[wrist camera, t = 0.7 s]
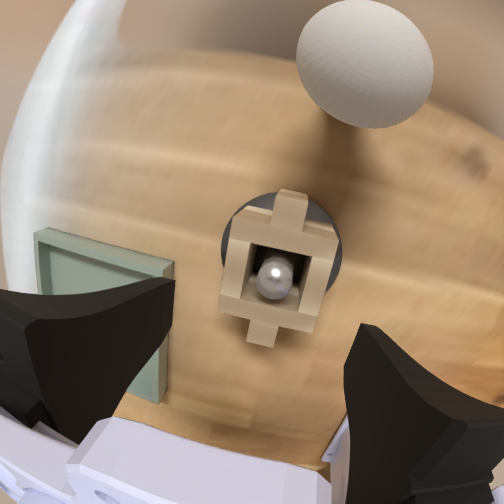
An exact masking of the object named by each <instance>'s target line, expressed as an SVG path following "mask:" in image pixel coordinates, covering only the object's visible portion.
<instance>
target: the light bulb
mask: <svg viewBox="0 0 504 504" xmlns="http://www.w3.org/2000/svg"><path fill="white" fill-rule="evenodd" d="M296 59H297V68H298V72H299V76H300V79H301V81H302V83H303V86H304V88H305V89H306V91H307V92H308V94H309V96H310V97H311V98H312V99H313V100H314V102H315V103H316V104H317V105H318V106H319V107H320V108H321V109H323V110H324V111H325V112H326V113H328V114H329V115H331V116H332V117H334V118H336V119H338V120H340V121H342V122H344V123H346V124H349V125H352V126H356V127H361V128H374V129H376V128H385V127H389V126H393V125H397V124H399V123H401V122H403V121H405V120H407V119H408V118H410V117H411V116H412V115H414V114H415V113H416V112H417V111H418V110H419V109H420V108H421V107H422V105H423V104H424V102H425V101H426V99H427V98H428V95H429V93H430V90H431V87H432V82H433V76H434V72H433V71H434V67H433V60H432V55H431V52H430V50H429V47H428V44H427V42H426V41H425V38H424V37H423V35H422V34H421V33H420V31H419V30H418V29H417V27H416V26H415V25H414V24H413V23H412V22H411V21H410V20H409V19H408V18H407V17H405V16H404V15H402V14H401V13H400V12H398V11H397V10H395V9H393V8H391V7H389V6H387V5H384V4H381V3H378V2H374V1H369V0H346V1H341V2H337V3H335V4H332V5H329V6H328V7H325V8H324V9H322V10H320V11H319V12H318V13H317V14H315V15H314V16H313V17H312V18H311V19H310V21H309V22H308V23H307V24H306V26H305V27H304V29H303V31H302V33H301V35H300V38H299V41H298V45H297V54H296Z"/></svg>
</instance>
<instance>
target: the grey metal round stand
mask: <svg viewBox="0 0 504 504" xmlns="http://www.w3.org/2000/svg"><path fill="white" fill-rule="evenodd" d="M277 193H278V192H274V193H268V194H264V195H261V196H259V197H256V198H254V199H252V200H250V201H249V202H247V203H246V204H244V205H243V206H242V207H241V208H239V210H238V211H237V212H236V213H235V214H234V215H233V216H235V215H236V214H237V213H239V212H240V211H241V210H243V209H244V208H245V207H246V206H253V207H258V208H263V209H268V210H272V211H273V208H274V203H275V198H276V195H277ZM233 216H232V218H233ZM232 218H231V219H230V221H229V222H228V224H227V226H226V228H225V231H224V234H223V238H222V244H221V257H222V262H223V266H224V267H225V260H226V254H227V248H228V242H229V236H230V230H231V224H232ZM305 218H309V219H313V220H318V221H322V222H326V223H330V224H332V226H333V228H334V231H335V233H336V235H337V237H338V239H339V243H338V246H337V250H336V254H335V258H334V261H333V265H332V269H331V272H330V276H329V279H328V283H327V286H326V290H325V292H326V291H327V290H328V289H329V288H330V287H331V285H332V284H333V282H334V281H335V279H336V277H337V275H338V272H339V270H340V266H341V261H342V243H341V239H340V235H339V232H338V230H337V228H336V226H335V224H334V222H333V220H332V219H331V217H330V216H329V215H328V213H327V212H326V211H325V210H324V209H323V208H322V207H320V206H319V205H318V204H317V203H315V202H314V201H312V200H310V199H308V207H307V211H306V216H305ZM305 258H306V255H303V254H299V253H294V252H290V251H285V250H281V249H277V248H272V247H268V246H263V245H259V244H258V247H257V252H256V257H255V262H254V267H253V272H257V273H258V275H257V278H256V286H257V289H258V291H259V292H260V293H261V294H262V295H263V296H264V297H266V298H269V299H280V298H283V297H285V296H286V295H287V294H288V293H289V291H290V290H291V286H292V281H296V282H300V278H301V274H302V270H303V266H304V262H305Z"/></svg>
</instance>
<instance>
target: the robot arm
mask: <svg viewBox="0 0 504 504" xmlns="http://www.w3.org/2000/svg"><path fill="white" fill-rule="evenodd" d="M174 291H175V280H172V279H168V278H164V277H155V278H150V279H146V280H142V281H138V282H135V283H131V284H127V285H123V286H119V287H115V288H110V289H106V290H101V291H96V292H89V293H81V294H66V295H40V294H27V293H20V292H14V291H8V290H3V289H0V488H1V489H2V490H3V491H4V492H5V493H6V494H8V495H9V496H10V497H11V498H12V499H13V500H14V501H16V502H17V504H504V484H503V485H500V486H498V487H496V488H494V489H493V490H491V489H490V486H489V483H491V482H492V481H493V479H494V477H493V474H492V470H493V469H494V468H495V467H496V466H497V464H498V463H499V462H500V461H501V460H502V459H503V458H504V408H501V407H497V406H494V405H491V404H488V403H485V402H483V401H480V400H478V399H475V398H473V397H471V396H469V395H467V394H465V393H462V392H461V391H459V390H457V389H455V388H453V387H452V386H450V385H448V384H446V383H445V382H443V381H442V380H440V379H439V378H437V377H436V376H434V375H433V374H431V373H430V372H429V371H427V370H426V369H425V368H423V367H422V366H421V365H420V364H419V363H417V362H416V361H415V360H414V359H413V358H411V357H410V356H409V355H408V354H407V353H406V352H405V351H404V350H403V349H401V348H400V347H399V346H398V345H397V344H396V343H395V342H394V341H393V340H392V339H391V338H390V337H389V336H388V335H386V334H385V333H384V332H383V331H382V330H381V329H379V328H378V327H377V326H374V325H369V324H363V323H361V324H360V327H359V329H358V332H357V335H356V337H355V340H354V342H353V345H352V347H351V350H350V352H349V355H348V357H347V359H346V362H345V364H344V394H345V401H346V409H347V415H346V417H345V419H344V420H343V422H342V424H341V426H340V428H339V429H338V431H337V433H336V434H335V436H334V438H333V439H332V441H331V443H330V444H329V446H328V448H327V449H326V451H325V452H324V454H323V456H322V461H323V462H330V483H329V482H328V481H326V480H325V479H324V478H323V477H322V476H321V475H320V474H319V473H318V472H316V471H314V470H312V469H308V468H305V467H301V466H298V465H295V464H291V463H288V462H284V461H279V460H273V459H268V458H262V457H257V456H253V455H248V454H244V453H239V452H235V451H231V450H227V449H223V448H219V447H216V446H212V445H208V444H205V443H201V442H198V441H195V440H192V439H188V438H185V437H182V436H179V435H176V434H173V433H170V432H167V431H164V430H162V429H159V428H156V427H154V426H151V425H148V424H146V423H142V422H138V421H134V420H129V419H125V418H121V417H114V416H113V417H112V415H113V413H114V411H115V410H116V408H117V406H118V404H119V402H120V401H121V399H122V397H123V395H124V394H125V392H126V390H127V389H128V387H129V386H130V384H131V383H132V381H133V380H134V379H135V377H136V376H137V375H138V373H139V372H140V371H141V370H142V368H143V367H144V366H145V365H146V363H147V362H148V361H149V360H150V358H151V357H152V356H153V354H154V353H155V352H156V351H157V349H158V348H159V347H160V345H161V344H162V342H163V341H164V339H165V337H166V335H167V334H168V332H169V330H170V328H171V326H172V317H173V304H174Z"/></svg>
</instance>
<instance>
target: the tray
mask: <svg viewBox="0 0 504 504" xmlns="http://www.w3.org/2000/svg"><path fill="white" fill-rule="evenodd" d="M34 252H35V266H36V277H37V286H38V294H40V295H66V294H81V293H89V292H96V291H101V290H106V289H110V288H115V287H119V286H123V285H127V284H131V283H135V282H138V281H142V280H146V279H150V278H155V277H164V278H168V279H173V268H174V261H172V260H168V259H164V258H160V257H156V256H152V255H148V254H144V253H141V252H137V251H133V250H129V249H125V248H121V247H118V246H114V245H110V244H106V243H103V242H99V241H95V240H91V239H88V238H84V237H80V236H77V235H73V234H70V233H66V232H62V231H59V230H55V229H52V228H46V229H43V230H40V231H37V232H34ZM168 337H169V332H168V334H167V335H166V337H165V339H164V341H163V342H162V344H161V345H160V347H159V348H158V349H157V351H156V352H155V353H154V354H153V356H152V357H151V358H150V360H149V361H148V362H147V363H146V365H145V366H144V367H143V368H142V370H141V371H140V372H139V373H138V375H137V376H136V377H135V379H134V380H133V381H132V383H131V384H130V386H129V387H128V389H127V390H126V392H128V393H131V394H133V395H136V396H138V397H141V398H143V399H146V400H149V401H151V402H154V403H157V404H159V403H160V401H161V399H162V398H163V396H164V394H165V393H166V391H167V359H168Z"/></svg>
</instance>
